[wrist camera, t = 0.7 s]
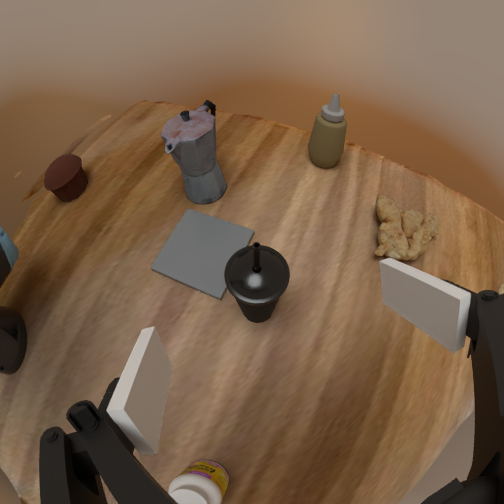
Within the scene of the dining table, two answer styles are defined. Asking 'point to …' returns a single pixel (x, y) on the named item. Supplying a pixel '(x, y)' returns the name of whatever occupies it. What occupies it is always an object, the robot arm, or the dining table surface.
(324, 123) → the squeeze bottle
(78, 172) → the muffin
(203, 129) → the moka pot
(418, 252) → the ginger root
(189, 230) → the slate coaster
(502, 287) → the hand bell
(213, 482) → the supplement bottle
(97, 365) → the dining table surface
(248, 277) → the drinking cup
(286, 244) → the dining table surface
